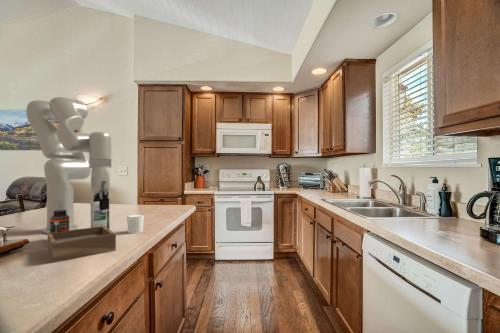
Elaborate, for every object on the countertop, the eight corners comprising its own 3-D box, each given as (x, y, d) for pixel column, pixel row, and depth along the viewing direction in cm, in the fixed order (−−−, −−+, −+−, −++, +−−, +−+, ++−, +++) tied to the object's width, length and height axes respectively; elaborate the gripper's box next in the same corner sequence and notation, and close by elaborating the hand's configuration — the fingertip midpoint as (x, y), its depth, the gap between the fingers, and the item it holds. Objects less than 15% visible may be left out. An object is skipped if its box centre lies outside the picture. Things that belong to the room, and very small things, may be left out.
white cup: (123, 233, 111) (123, 216, 111) (135, 229, 117) (135, 213, 117) (135, 234, 109) (135, 217, 109) (147, 230, 115) (147, 214, 115)
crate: (47, 249, 88) (47, 233, 88) (103, 240, 100) (104, 225, 100) (52, 262, 76) (52, 243, 76) (115, 250, 88) (115, 234, 88)
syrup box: (92, 241, 98) (92, 202, 98) (90, 238, 103) (90, 201, 103) (109, 239, 102) (109, 201, 102) (106, 235, 106) (106, 200, 106)
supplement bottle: (59, 242, 97) (59, 211, 97) (45, 241, 98) (45, 211, 98) (73, 238, 103) (73, 209, 103) (60, 237, 104) (60, 208, 104)
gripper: (85, 165, 106) (85, 207, 106) (94, 163, 93) (95, 211, 93) (105, 165, 111) (106, 205, 111) (117, 163, 98) (118, 209, 98)
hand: (101, 208), depth 102 cm, fingers open, 9 cm apart
